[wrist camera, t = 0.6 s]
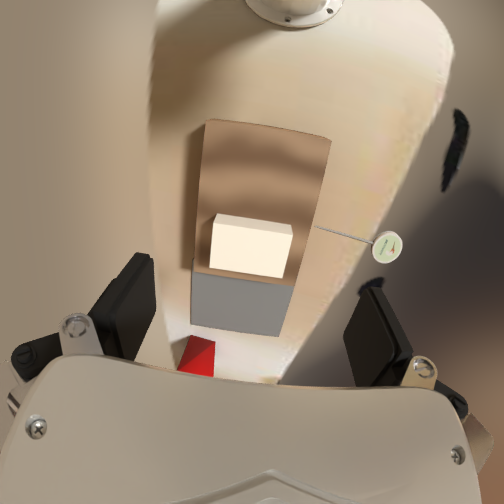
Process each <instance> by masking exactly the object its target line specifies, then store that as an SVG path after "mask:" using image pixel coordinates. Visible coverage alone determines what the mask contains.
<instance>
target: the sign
mask: <svg viewBox="0 0 504 504" xmlns="http://www.w3.org/2000/svg"><path fill="white" fill-rule="evenodd" d="M314 227H317V228H320V229H323V230H327V231H330V232H333V233H337V234H340V235H344V236H347V237H350V238H354V239H357V240H360V241H363V242H367V243H370V244H371V253H372V255H373V257H374V258H375V260H376V261H378V262H380V263H388V262H391V261H393V260H395V259H396V258H397V257H398V256H399V254H400V252H401V250H402V241H401V239H400V237H399V236H398V235H397V234H396V233H395V232H393V231H384V232H382V233H380V234H379V235H377V236H376V237H375V238H374V240H373V242H372V241H368V240H365V239H362V238H358V237H355V236H352V235H348V234H345V233H341V232H337V231H334V230H330V229H326V228H323V227H319V226H314Z"/></svg>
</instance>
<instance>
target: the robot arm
mask: <svg viewBox="0 0 504 504" xmlns="http://www.w3.org/2000/svg"><path fill="white" fill-rule="evenodd" d="M245 2H246V3H247V5H248V6H249V7H250V8H251V9H252V10H253V12H255V13H256V14H257V15H259V16H260V17H261V18H263V19H265V20H267V21H269V22H272V23H275V24H278V25H282V26H286V27H295V28H304V27H312V26H317V25H320V24H322V23H325V22H327V21H328V20H330V19H331V18H333V17H334V16H335V15H336V14H337V12H338V11H339V10H340V8H341V6H342V4H343V0H245ZM327 12H330V14H329V13H327ZM285 20H289V22H286V21H285ZM155 312H156V297H155V282H154V262H153V258H150V256H149V254H144V253H138V252H137V253H135V254H134V256H133V257H132V258H131V259H130V261H129V262H128V263H127V265H126V266H125V267H124V269H123V270H122V271H121V272H120V274H119V275H118V276H117V278H115V279H113V280H112V281H111V283H110V284H109V285H108V287H107V288H106V289H105V291H104V292H103V293H102V295H101V296H100V297H99V299H98V300H97V302H96V303H95V304H94V306H93V307H92V309H91V310H90V312H89V313H88V314H87V315H85V314H82V313H75V314H71V315H69V316H67V317H65V318H64V319H63V320H62V321H61V322H60V325H59V332H58V333H54V334H52V335H48V336H45V337H43V338H39V339H36V340H33V341H30V342H27V343H23V344H21V345H19V346H18V347H17V348H16V349H15V350H14V351H13V353H12V356H11V361H9V362H7V360H5V361H4V362H2V363H1V364H0V504H482V503H481V495H480V489H479V483H478V478H477V475H478V473H479V472H480V470H481V468H482V467H483V465H484V463H485V462H486V460H487V458H488V456H489V455H490V453H491V451H492V449H493V446H494V441H493V437H492V436H491V434H490V433H489V432H488V431H487V430H486V429H485V427H484V426H483V425H482V424H481V423H480V422H479V421H478V420H477V419H476V417H475V416H474V415H473V414H472V413H470V414H468V404H467V402H466V400H465V399H464V398H463V397H462V396H461V395H460V394H458V393H457V392H455V391H454V390H452V389H451V388H449V387H447V386H446V385H444V384H443V383H441V382H440V381H438V380H437V379H436V378H437V370H436V367H435V365H434V364H433V363H432V361H430V360H429V359H428V358H426V357H422V356H415V357H414V358H413V356H412V353H413V349H412V347H411V345H410V343H409V341H408V339H407V337H406V335H405V333H404V331H403V329H402V327H401V325H400V323H399V321H398V319H397V317H396V315H395V313H394V311H393V309H392V308H391V306H390V304H389V302H388V300H387V298H386V296H385V295H384V293H383V291H382V289H381V288H376V287H368V288H367V289H365V290H364V291H363V292H362V295H361V297H360V299H359V301H358V304H357V306H356V308H355V310H354V313H353V315H352V317H351V319H350V321H349V323H348V325H347V327H346V329H345V331H344V335H343V339H344V343H345V346H346V350H347V354H348V357H349V361H350V365H351V368H352V372H353V376H354V380H355V384H356V387H308V386H289V385H275V384H263V383H253V382H245V381H236V380H229V379H222V378H215V377H208V376H202V375H197V374H191V373H186V372H180V371H175V370H170V369H166V368H161V367H156V366H152V365H147V364H143V363H138V362H134V359H135V358H136V355H137V353H138V351H139V348H140V346H141V344H142V342H143V339H144V337H145V335H146V332H147V330H148V328H149V326H150V324H151V322H152V319H153V317H154V315H155Z"/></svg>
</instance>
